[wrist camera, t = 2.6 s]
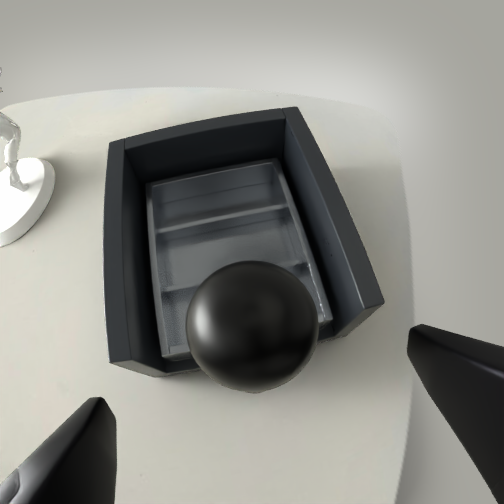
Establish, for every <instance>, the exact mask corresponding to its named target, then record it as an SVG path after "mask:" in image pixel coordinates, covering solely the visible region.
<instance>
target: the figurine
mask: <svg viewBox="0 0 504 504" xmlns="http://www.w3.org/2000/svg"><path fill="white" fill-rule="evenodd" d="M0 75H1V68H0ZM0 92H3V91H2V88H0ZM11 122H12V123H13V124H15V125H16V126H17V127H16V126H14V125H12V124H11ZM0 138H1V139H3V140H5V141H9V142H8V143H7V145H6V147H5V157H6V160H5V163H6V165H7V166H8V167H6V168H5V169H4V170H3V171H2V172H1V173H0V247H2V246H5V245H8V244H10V243H12V242H13V241H15V240H17V239H18V238H20V237H21V236H22V235H23V234H25V233H26V232H27V231H28V230H29V229H30V228H31V227H32V226H33V225H34V223H35V222H36V221H37V220H38V218H39V217H40V216H41V214H42V213H43V211H44V209H45V208H46V206H47V204H48V202H49V200H50V198H51V195H52V192H53V190H54V185H55V171H54V168H53V166H52V165H51V164H50V163H49V162H47V161H46V160H42V159H37V158H32V157H31V158H24V159H20V160H17V157H18V150H19V145H20V140H21V130H20V127H19V126H18V125H17V124H16V123H15V122H14V121H13V120H11V119H10V118H9V117H7V116H6V115H4V114H3V113H1V112H0Z"/></svg>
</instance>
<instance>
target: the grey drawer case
mask: <svg viewBox="0 0 504 504" xmlns="http://www.w3.org/2000/svg"><path fill="white" fill-rule="evenodd" d="M272 158H278V160H279V162H280V165H281V168H282V170H283V173H284V176H285V178H286V181H287V184H288V186H289V189H290V192H291V194H292V197H293V200H294V203H295V205H296V208H297V211H298V214H299V217H300V219H301V222H302V225H303V228H304V231H305V234H306V236H307V239H308V242H309V245H310V248H311V251H312V254H313V257H314V260H315V263H316V266H317V269H318V272H319V275H320V278H321V281H322V284H323V287H324V290H325V293H326V297H327V300H328V303H329V306H330V309H331V313H332V316H333V319H332V321H331V322H330V323H329V324H328V325H327V326H326V327H325V329H324V330H320V331H319V332H318V339H317V343H316V344H319V343H323V342H326V341H330V340H333V339H337V338H340V337H344V336H347V335H348V334H349V333H350V332H351V331H352V330H354V329H355V328H356V327H357V326H359V325H360V324H361V323H362V322H363V321H365V320H366V319H367V318H368V317H369V316H370V315H372V314H373V313H374V312H375V311H376V310H377V309H379V308H380V307H381V306H382V305H383V304H384V303H385V301H384V298H383V296H382V293H381V290H380V287H379V285H378V282H377V279H376V277H375V274H374V271H373V269H372V266H371V264H370V261H369V258H368V256H367V253H366V251H365V248H364V246H363V243H362V241H361V239H360V236H359V234H358V231H357V229H356V227H355V224H354V222H353V220H352V217H351V215H350V213H349V210H348V208H347V206H346V204H345V201H344V199H343V197H342V195H341V193H340V190H339V188H338V186H337V184H336V182H335V180H334V178H333V175H332V173H331V171H330V169H329V167H328V165H327V163H326V161H325V159H324V157H323V155H322V153H321V151H320V149H319V147H318V145H317V143H316V141H315V139H314V137H313V135H312V133H311V131H310V129H309V127H308V126H307V124H306V122H305V120H304V118H303V116H302V114H301V112H300V111H299V109H298V107H288V108H282V109H281V108H278V109H269V110H262V111H254V112H247V113H241V114H234V115H228V116H222V117H217V118H211V119H206V120H200V121H195V122H190V123H186V124H181V125H176V126H172V127H167V128H163V129H159V130H155V131H151V132H147V133H143V134H139V135H135V136H131V137H127V138H124V139H120V140H117V141H113V142H110V143H109V149H108V159H107V169H106V182H105V196H104V217H103V290H104V311H105V326H106V338H107V348H108V358H109V363H111V364H114V365H117V366H120V367H123V368H126V369H129V370H132V371H135V372H138V373H142V374H145V375H148V376H152V377H162V376H169V375H175V374H181V373H187V372H193V371H199V370H202V369H201V368H200V366H199V365H198V364H197V362H196V361H195V359H189V360H183V361H177V362H172V361H170V360H168V359H167V358H165V357H163V356H161V350H160V344H159V337H158V329H157V322H156V314H155V306H154V297H153V288H152V278H151V268H150V256H149V243H148V228H147V210H146V183H150V182H154V181H158V180H163V179H167V178H171V177H176V176H180V175H185V174H190V173H194V172H199V171H204V170H209V169H214V168H219V167H225V166H230V165H235V164H241V163H247V162H252V161H258V160H264V159H272Z"/></svg>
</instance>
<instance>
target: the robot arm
mask: <svg viewBox="0 0 504 504" xmlns="http://www.w3.org/2000/svg"><path fill="white" fill-rule="evenodd" d="M407 354H408V357H409V359H410V361H411V363H412V365H413V366H414V368H415V370H416V372H417V374H418V376H419V377H420V379H421V381H422V383H423V385H424V387H425V388H426V390H427V392H428V394H429V395H430V397H431V398H432V400H433V401H434V403H435V404H436V406H437V407H438V409H439V410H440V412H441V413H442V414H443V416H444V417H445V419H446V420H447V422H448V423H449V425H450V426H451V428H452V429H453V431H454V433H455V434H456V436H457V437H458V439H459V440H460V442H461V443H462V445H463V446H464V448H465V449H466V451H467V453H468V454H469V456H470V457H471V459H472V460H473V462H474V464H475V465H476V467H477V468H478V470H479V472H480V473H481V475H482V477H483V478H484V480H485V482H486V483H487V485H488V487H489V488H490V490H491V492H492V494H493V495H494V497H495V499H496V501H497V502H498V504H504V347H502V346H499V345H495V344H491V343H488V342H484V341H481V340H477V339H473V338H470V337H466V336H462V335H459V334H455V333H452V332H448V331H445V330H441V329H438V328H435V327H431V326H428V325H424V324H420V325H417V326H415V327H412V328H411V329H410V331H409V336H408V345H407ZM116 472H117V444H116V419H115V416H114V414H113V413H112V411H111V409H110V408H109V406H108V404H107V403H106V401H105V399H104V398H102V397H93V398H89V399H88V400H87V401H86V402H85V403H84V404H83V405H82V406H81V407H79V408H78V409H77V410H76V411H75V412H74V413H73V414H72V415H71V416H70V417H69V418H68V419H67V420H66V421H65V422H64V423H63V424H62V425H61V426H60V427H59V428H58V429H57V430H56V431H55V432H54V433H53V434H52V435H51V436H49V437H48V438H47V439H46V440H45V441H44V442H43V443H42V444H41V445H40V446H39V447H38V448H37V449H36V450H35V451H34V452H33V453H32V454H31V455H30V456H29V457H28V458H27V459H26V460H25V461H24V462H23V463H22V464H21V465H20V466H19V467H18V469H15V470H14V471H13V472H12V473H11V474H10V475H9V476H8V477H7V478H6V479H5V480H4V481H3V482H2V483H1V484H0V504H114V501H115V486H116Z"/></svg>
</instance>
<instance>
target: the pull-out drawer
mask: <svg viewBox="0 0 504 504" xmlns="http://www.w3.org/2000/svg"><path fill="white" fill-rule="evenodd" d="M146 210H147V228H148V243H149V256H150V268H151V278H152V288H153V297H154V306H155V314H156V322H157V329H158V337H159V344H160V350H161V356H163V357H165V358H167V359H168V360H170V361H172V362H177V361H183V360H189V359H195V361H196V362H197V364H198V365H199V366H200V368H201V369H202V370H203V371H204V372H205V373H206V374H207V375H208V376H209V377H210V378H212V379H213V380H214V381H216V382H218V383H219V384H221V385H223V386H225V387H228V388H231V389H234V390H238V391H245V392H248V393H261V392H264V391H266V390H270V389H273V388H276V387H279V386H281V385H283V384H285V383H287V382H288V381H290V380H291V379H293V378H294V377H295V376H296V375H297V374H299V372H300V371H301V370H302V369H303V368H304V367H305V365H306V364H307V363H308V361H309V360H310V358H311V356H312V354H313V352H314V349H315V346H316V343H317V339H318V332H319V331H320V330H324V329H325V327H326V326H327V325H328V324H329V323H330V322H331V321H332V319H333V316H332V313H331V309H330V306H329V303H328V300H327V297H326V293H325V290H324V287H323V284H322V281H321V278H320V275H319V272H318V269H317V266H316V263H315V260H314V257H313V254H312V251H311V248H310V245H309V242H308V239H307V236H306V234H305V231H304V228H303V225H302V222H301V219H300V217H299V214H298V211H297V208H296V205H295V203H294V200H293V197H292V194H291V192H290V189H289V186H288V184H287V181H286V178H285V176H284V173H283V170H282V168H281V165H280V162H279V160H278V158H272V159H264V160H258V161H252V162H247V163H241V164H235V165H230V166H225V167H219V168H214V169H209V170H204V171H199V172H194V173H190V174H185V175H180V176H176V177H171V178H167V179H163V180H158V181H154V182H150V183H146Z"/></svg>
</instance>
